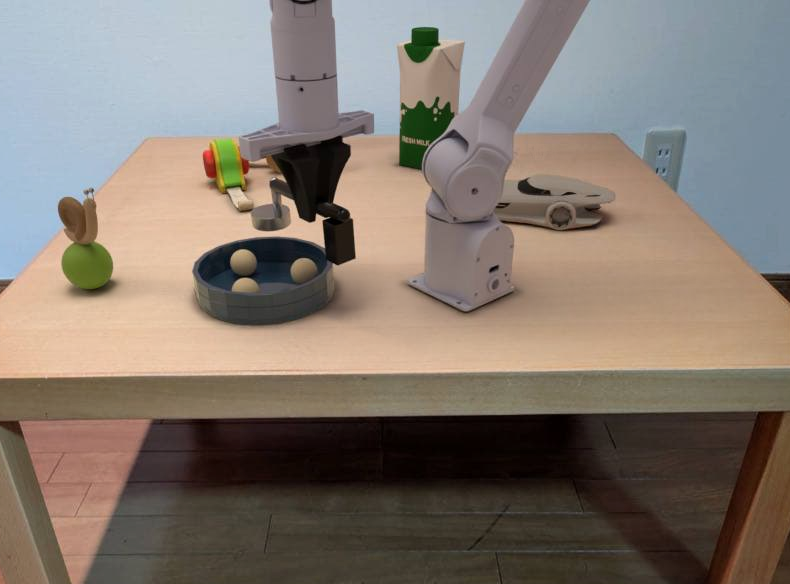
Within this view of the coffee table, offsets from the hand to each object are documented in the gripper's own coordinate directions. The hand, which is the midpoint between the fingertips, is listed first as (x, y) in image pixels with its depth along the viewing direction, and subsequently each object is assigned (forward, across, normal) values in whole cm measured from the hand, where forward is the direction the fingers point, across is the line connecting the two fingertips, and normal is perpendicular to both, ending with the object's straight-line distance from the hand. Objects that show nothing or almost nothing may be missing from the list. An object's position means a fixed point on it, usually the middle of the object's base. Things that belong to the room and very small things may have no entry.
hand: (315, 217), depth 75 cm
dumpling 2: (+7, +7, -3) cm, 11 cm away
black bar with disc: (+3, 0, -3) cm, 4 cm away
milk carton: (+10, -42, -28) cm, 52 cm away
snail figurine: (+10, +18, -19) cm, 28 cm away
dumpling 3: (+7, 0, -3) cm, 8 cm away
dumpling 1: (+7, +4, -10) cm, 13 cm away
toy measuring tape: (+10, -11, -38) cm, 40 cm away
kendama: (+10, -22, -43) cm, 49 cm away
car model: (+10, -36, -3) cm, 38 cm away
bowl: (+9, +4, -5) cm, 11 cm away
